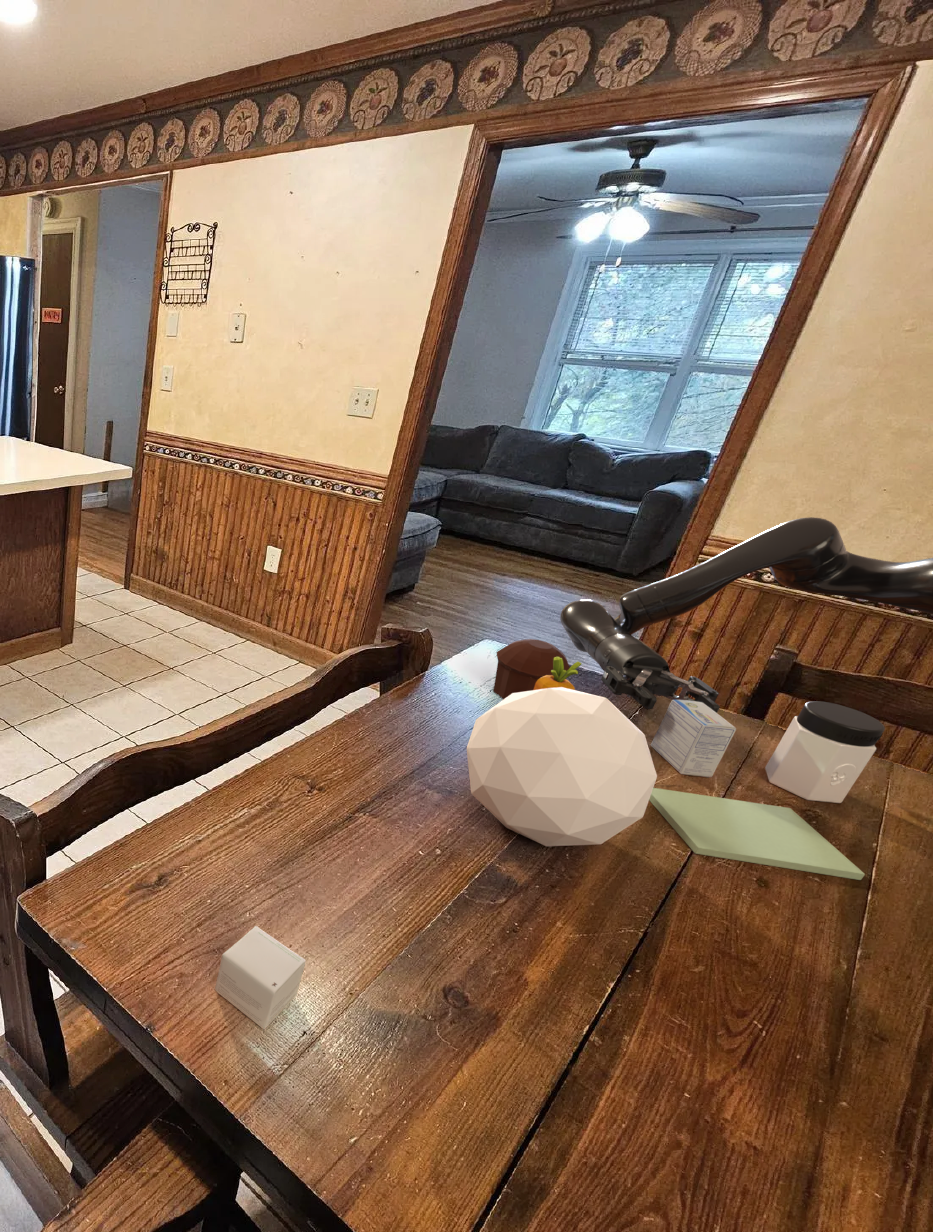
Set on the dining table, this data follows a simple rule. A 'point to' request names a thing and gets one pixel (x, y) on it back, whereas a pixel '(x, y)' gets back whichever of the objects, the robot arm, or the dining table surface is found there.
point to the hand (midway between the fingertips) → (682, 708)
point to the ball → (560, 766)
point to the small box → (259, 976)
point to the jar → (824, 751)
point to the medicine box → (693, 738)
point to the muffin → (524, 665)
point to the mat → (750, 833)
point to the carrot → (557, 676)
